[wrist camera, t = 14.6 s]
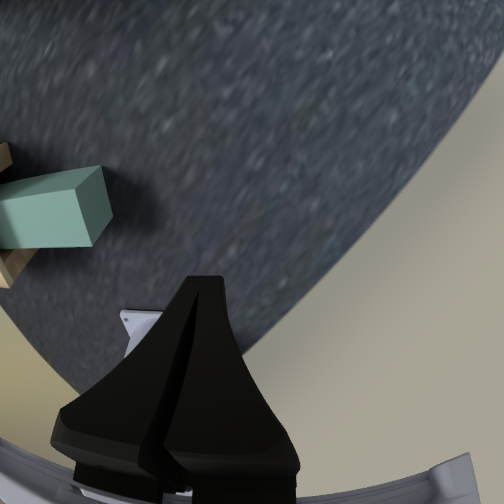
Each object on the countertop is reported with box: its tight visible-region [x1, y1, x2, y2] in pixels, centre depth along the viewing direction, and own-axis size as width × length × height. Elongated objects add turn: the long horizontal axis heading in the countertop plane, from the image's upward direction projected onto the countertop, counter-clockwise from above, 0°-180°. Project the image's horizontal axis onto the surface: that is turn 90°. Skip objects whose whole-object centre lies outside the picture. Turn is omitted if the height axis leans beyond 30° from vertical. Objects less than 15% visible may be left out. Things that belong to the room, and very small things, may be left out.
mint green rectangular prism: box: [0, 165, 113, 249], centre depth 17 cm, size 4×12×4 cm, turn 91°
